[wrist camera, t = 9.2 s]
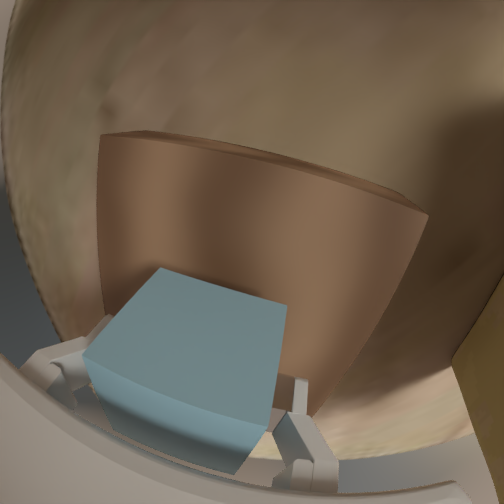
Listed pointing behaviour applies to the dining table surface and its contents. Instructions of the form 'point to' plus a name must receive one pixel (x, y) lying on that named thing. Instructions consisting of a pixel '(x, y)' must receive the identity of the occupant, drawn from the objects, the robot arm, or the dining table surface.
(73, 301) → the dining table surface
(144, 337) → the cube
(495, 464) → the cheese
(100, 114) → the dining table surface
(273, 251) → the riser
